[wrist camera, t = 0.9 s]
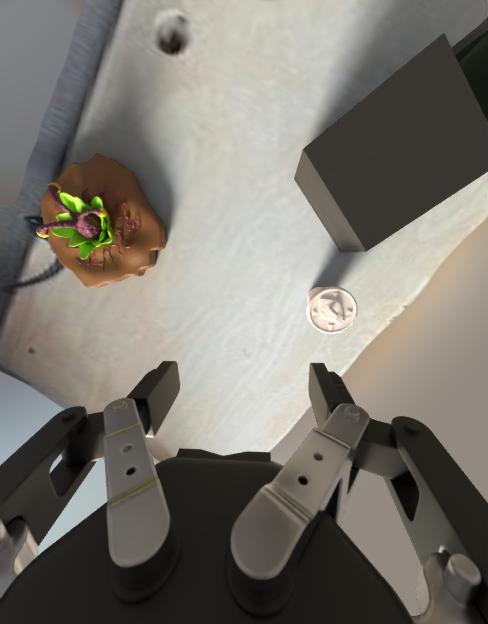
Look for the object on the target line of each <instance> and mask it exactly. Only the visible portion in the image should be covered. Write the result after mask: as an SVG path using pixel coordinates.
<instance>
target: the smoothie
mask: <svg viewBox="0 0 488 624" xmlns="http://www.w3.org/2000/svg"><path fill="white" fill-rule="evenodd" d="M307 301H308V305H307V316H308V319H309V321H310V323H311V324H312V325H313V326H314V327H315V328H316V329H317V330H319V331H321V332H323V333H328V334H335V333H339V332H342V331H344V330H346V329H347V328H348V327H350V326H351V324H352V323H353V322H354V320H355V318H356V315H357V303H356V301H355V299H354V297H353V296H352V295H351V294H350V293H349V292H348V291H346V290H345V289H343V288H340V287H335V286H330V287H325V288H323V287H316V288H314V289H312V290H311V291H310V292H309V293H308V296H307Z"/></svg>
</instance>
